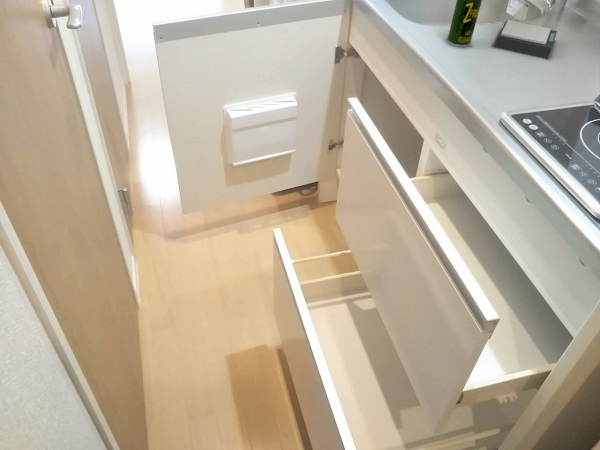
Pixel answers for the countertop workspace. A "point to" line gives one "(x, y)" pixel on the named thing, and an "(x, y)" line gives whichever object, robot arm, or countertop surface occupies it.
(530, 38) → the scale
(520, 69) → the countertop surface
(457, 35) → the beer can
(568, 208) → the countertop surface
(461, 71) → the countertop surface
